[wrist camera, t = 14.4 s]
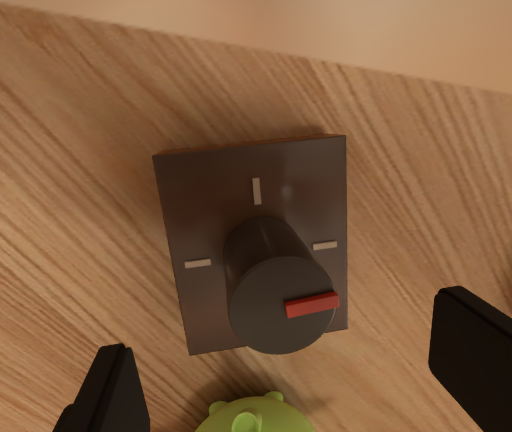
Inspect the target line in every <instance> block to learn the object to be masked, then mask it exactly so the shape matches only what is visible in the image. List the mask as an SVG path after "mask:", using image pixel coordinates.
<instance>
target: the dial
mask: <svg viewBox="0 0 512 432" xmlns="http://www.w3.org/2000/svg"><path fill="white" fill-rule="evenodd" d="M223 261H224V273H225V286H226V298H227V310H228V319H229V322H230V325H231V328H232V330H233V331H234V333H235V334H236V336H237V337H238V338H239V339H240V340H241V341H242V342H243V343H244V344H245V345H247V346H248V347H250V348H252V349H254V350H256V351H259V352H262V353H266V354H276V355H278V354H287V353H292V352H296V351H298V350H301V349H303V348H305V347H307V346H309V345H310V344H312V343H313V342H315V341H316V340H317V339H318V338H320V337H321V335H322V334H323V333H324V332H325V331H326V330H327V328H328V327H329V325H330V323H331V322H332V319H333V317H334V314H335V310H336V308H337V307H339V297H338V294H337V293H336V290H335V287H334V284H333V282H332V280H331V278H330V276H329V275H328V274H327V272H326V271H325V270H324V268H323V267H322V266H321V264H320V263H319V262H318V261H317V259H316V258H315V257H314V255H313V254H312V253H311V252H310V250H309V249H308V248H307V246H306V245H305V244H304V242H303V241H302V240H301V239H300V237H299V236H298V235H297V233H296V232H295V231H294V230H293V229H292V228H291V226H289V225H288V224H287V223H285V222H284V221H282V220H279V219H277V218H273V217H256V218H253V219H250V220H247V221H245V222H243V223H242V224H240V225H239V226H237V227H236V228H235V229H234V230H233V231H232V233H231V234H230V235H229V237H228V239H227V241H226V243H225V246H224V252H223Z"/></svg>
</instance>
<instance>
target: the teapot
mask: <svg viewBox="0 0 512 432" xmlns="http://www.w3.org/2000/svg"><path fill="white" fill-rule="evenodd" d="M209 414H210V416H209V417H207V418H206V419H205V420H204V421H203V422H202V423H201V424H200V426H199V427H198V428H197V429H196V431H195V432H315V430H314V428H313V426H312V424H311V423H310V422H309V420H308V419H307V418H306V417H305V415H304V414H303V413H301V412H300V411H299V410H298V409H296V408H295V407H293V406H291V405H289V404H287V403H285V402H283V395H282V394H281V393H280V392H277V391H271V392H268V393H267V394H265V395H264V397H261V396H257V397H246V398H241V399H238V400H235V401H232V402H230V403H227V402H225V401H217V402H214V403H213V404H212V405H211V406H210V407H209Z"/></svg>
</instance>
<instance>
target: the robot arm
mask: <svg viewBox="0 0 512 432" xmlns="http://www.w3.org/2000/svg"><path fill="white" fill-rule="evenodd" d="M428 364H429V368H430V370H431V372H432V374H433V375H434V376H435V377H436V379H437V380H438V381H439V382H440V383H441V384H442V385H443V386H444V388H445V389H446V390H447V391H448V392H449V393H450V394H451V395H452V397H453V398H454V399H455V400H456V401H457V402H458V403H459V404H460V406H461V407H462V408H463V409H464V410H465V411H466V412H467V413H468V415H469V416H470V417H471V418H472V419H473V420H474V421H475V422H476V424H477V425H478V426H479V427H480V428H481V429H482V430H483V431H484V432H512V318H510V317H509V316H507V315H506V314H504V313H502V312H501V311H499V310H498V309H496V308H495V307H493V306H492V305H490V304H489V303H487V302H486V301H484V300H482V299H481V298H479V297H478V296H476V295H475V294H473V293H472V292H470V291H469V290H467V289H466V288H464V287H462V286H453V287H447V288H442V289H440V290H439V291H438V294H436V295H435V298H434V307H433V318H432V328H431V339H430V350H429V360H428ZM53 432H150V418H149V413H148V410H147V406H146V402H145V398H144V394H143V390H142V386H141V382H140V378H139V375H138V371H137V367H136V363H135V359H134V355H133V351H132V349H131V347H128V348H125V345H124V344H123V343H119V344H114V345H108V346H102V347H100V349H99V350H98V352H97V355H96V357H95V359H94V361H93V363H92V365H91V367H90V369H89V372H88V374H87V376H86V378H85V380H84V382H83V384H82V386H81V388H80V391H79V393H78V395H77V397H76V399H75V401H74V403H73V404H70V405H68V406H67V407H66V408H65V409H64V410H63V412H62V414H61V415H60V417H59V420H58V422H57V424H56V426H55V428H54V430H53Z"/></svg>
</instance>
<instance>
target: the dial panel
mask: <svg viewBox="0 0 512 432" xmlns="http://www.w3.org/2000/svg"><path fill="white" fill-rule="evenodd" d="M152 159H153V164H154V170H155V175H156V180H157V186H158V191H159V196H160V202H161V207H162V212H163V218H164V223H165V228H166V234H167V239H168V244H169V250H170V255H171V260H172V266H173V271H174V276H175V282H176V287H177V292H178V298H179V303H180V308H181V314H182V319H183V324H184V330H185V335H186V341H187V346H188V351H189V355H190V356H192V355H198V354H204V353H210V352H216V351H221V350H227V349H233V348H239V347H245V346H247V345H245V344H244V343H243V342H242V341H241V340H240V339H239V338H238V337H237V336H236V334H235V333H234V331H233V330H232V328H231V325H230V322H229V319H228V310H227V298H226V286H225V273H224V261H223V252H224V246H225V243H226V241H227V239H228V237H229V235H230V234H231V233H232V231H233V230H234V229H235V228H236V227H237V226H239V225H240V224H242V223H243V222H245V221H247V220H250V219H253V218H256V217H273V218H277V219H279V220H282V221H284V222H285V223H287V224H288V225H289V226H291V228H292V229H293V230H294V231H295V232H296V233H297V235H298V236H299V237H300V239H301V240H302V241H303V242H304V244H305V245H306V246H307V248H308V249H309V250H310V252H311V253H312V254H313V255H314V257H315V258H316V259H317V261H318V262H319V263H320V264H321V266H322V267H323V268H324V270H325V271H326V272H327V274H328V275H329V276H330V278H331V280H332V282H333V284H334V287H335V290H336V293H337V294H338V297H339V307H337V308H336V310H335V314H334V317H333V319H332V322H331V323H330V325H329V327H328V328H327V330H326V331H325V332H324V333H328V332H333V331H339V330H345V329H348V291H347V184H346V135H338V134H317V135H308V136H298V137H288V138H279V139H269V140H259V141H250V142H240V143H231V144H221V145H211V146H202V147H192V148H182V149H173V150H163V151H161V152H159V153H157V154H155V155H153V156H152Z"/></svg>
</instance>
